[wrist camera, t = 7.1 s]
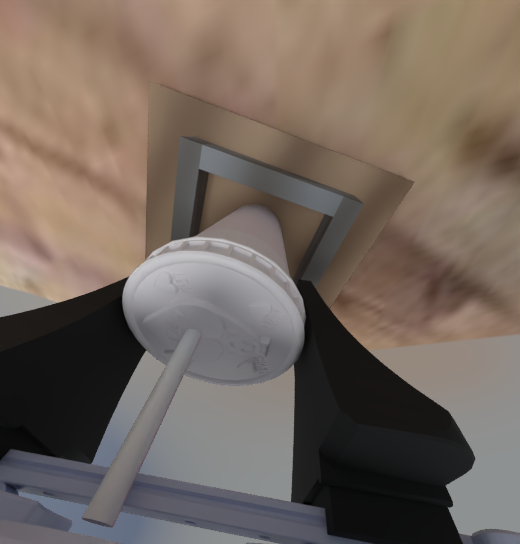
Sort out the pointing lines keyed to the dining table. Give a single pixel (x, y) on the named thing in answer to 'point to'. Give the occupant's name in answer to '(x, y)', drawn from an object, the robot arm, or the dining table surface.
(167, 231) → the bottle stand
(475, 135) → the dining table surface
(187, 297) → the smoothie
